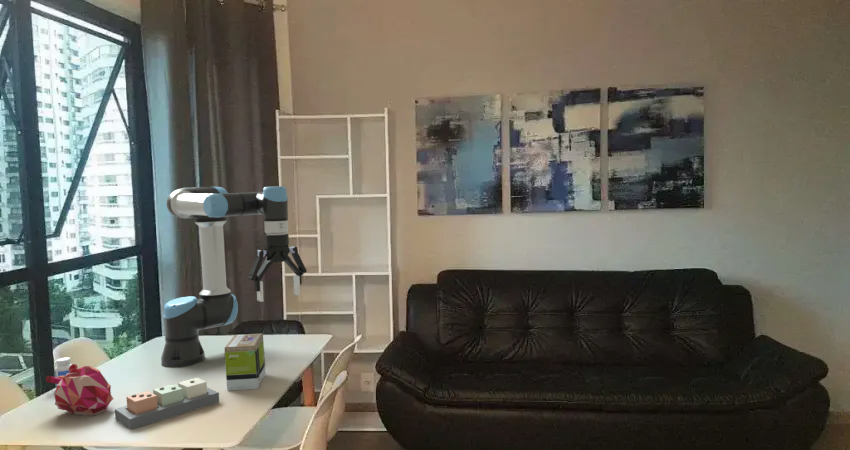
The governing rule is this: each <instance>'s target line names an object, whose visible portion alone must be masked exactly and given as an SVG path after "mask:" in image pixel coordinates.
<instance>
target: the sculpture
mask: <svg viewBox="0 0 850 450" xmlns="http://www.w3.org/2000/svg"><path fill="white" fill-rule="evenodd" d="M71 364H72V363H71ZM45 382H46V383H49V384H50V383H51V384H54V385H56V384H58V385H57V387H56V386H55V388H56V389H55V392H54V400H55V402H54V405H55V406H56V407H57V409H58V410H63V411H66V412H68V413H70V414H72V415H73V414H77V415H78V416H97V415H98V414H101V413H102V412H104V411H105V410H106V409H107V408H108V407H109V405H110V403H111V402H112V401H113V400H114V397H113V396H112V392H111V388H112V387H111V386H112V385H111V384H109V382H108V381H107V379H106V378H105V376H104V375H103V374H102V372H101V371H100V370H99V369H97V368H95V367H93V366H91V365H90V366H89V365H84V366H82V367H79V368H78V365H77V364H75V363H73V364H72V365H71V366H70V367H69V372H68V373H67V374H66V375H65V376H58V378H57V377H55V376H52V375H47V376H46V377H45ZM77 415H76V416H77Z"/></svg>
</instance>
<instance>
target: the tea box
mask: <svg viewBox="0 0 850 450" xmlns="http://www.w3.org/2000/svg"><path fill="white" fill-rule="evenodd" d="M264 345H265V343H264V333H249V334H234V335H233V336H232V338H231V339H230V340H229V342H227V344H226V345H225V346H224V361H225V362H224V363H225V376H226V377H225V378H226V389H227V391H228V392H230V391H247V390H257V389H258V388H259V386H260V385H261V383H262V382H263V379H264V378H265V376H266V371H267V370H266V361H265V359H266V358H265V347H264Z"/></svg>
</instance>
